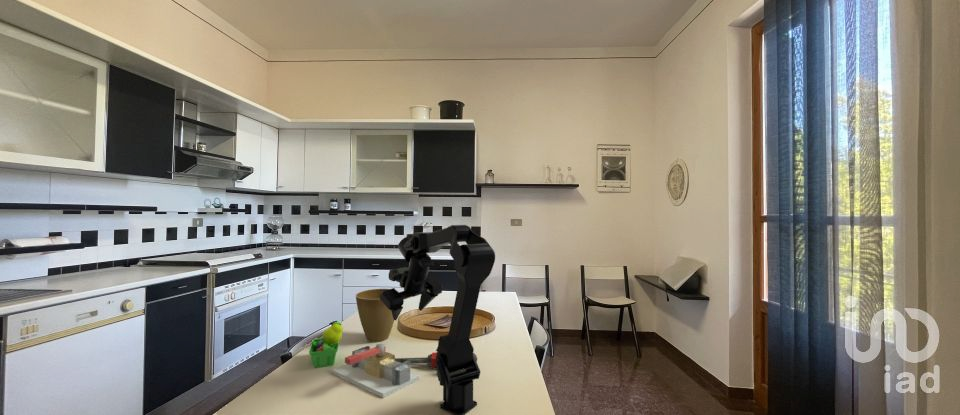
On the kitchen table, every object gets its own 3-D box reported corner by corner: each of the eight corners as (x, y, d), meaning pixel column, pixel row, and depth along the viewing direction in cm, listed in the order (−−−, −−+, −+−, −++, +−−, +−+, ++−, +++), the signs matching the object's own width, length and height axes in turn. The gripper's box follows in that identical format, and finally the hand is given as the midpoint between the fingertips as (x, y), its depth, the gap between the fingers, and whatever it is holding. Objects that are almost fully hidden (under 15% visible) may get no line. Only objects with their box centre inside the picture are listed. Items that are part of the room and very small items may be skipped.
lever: (380, 352, 101) (380, 343, 101) (386, 354, 100) (386, 344, 100) (344, 366, 92) (344, 356, 92) (350, 368, 91) (350, 358, 91)
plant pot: (353, 334, 132) (353, 290, 132) (394, 329, 138) (394, 287, 138) (357, 349, 118) (358, 300, 118) (403, 342, 125) (403, 295, 125)
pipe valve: (412, 382, 96) (412, 361, 96) (397, 389, 91) (397, 368, 92) (365, 362, 107) (365, 344, 107) (349, 368, 103) (350, 349, 103)
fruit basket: (312, 355, 113) (313, 319, 113) (343, 351, 116) (343, 316, 116) (308, 370, 103) (309, 330, 103) (342, 366, 105) (342, 327, 106)
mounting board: (419, 379, 98) (419, 375, 98) (383, 397, 88) (383, 393, 88) (367, 359, 111) (367, 355, 111) (331, 373, 101) (331, 369, 101)
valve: (479, 361, 114) (476, 376, 100) (398, 363, 116) (383, 377, 101) (478, 340, 115) (475, 351, 101) (398, 342, 117) (383, 353, 102)
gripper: (426, 251, 115) (417, 291, 121) (374, 263, 101) (366, 307, 107) (449, 270, 108) (437, 311, 114) (395, 286, 95) (386, 331, 101)
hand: (407, 314), depth 109 cm, fingers open, 9 cm apart
